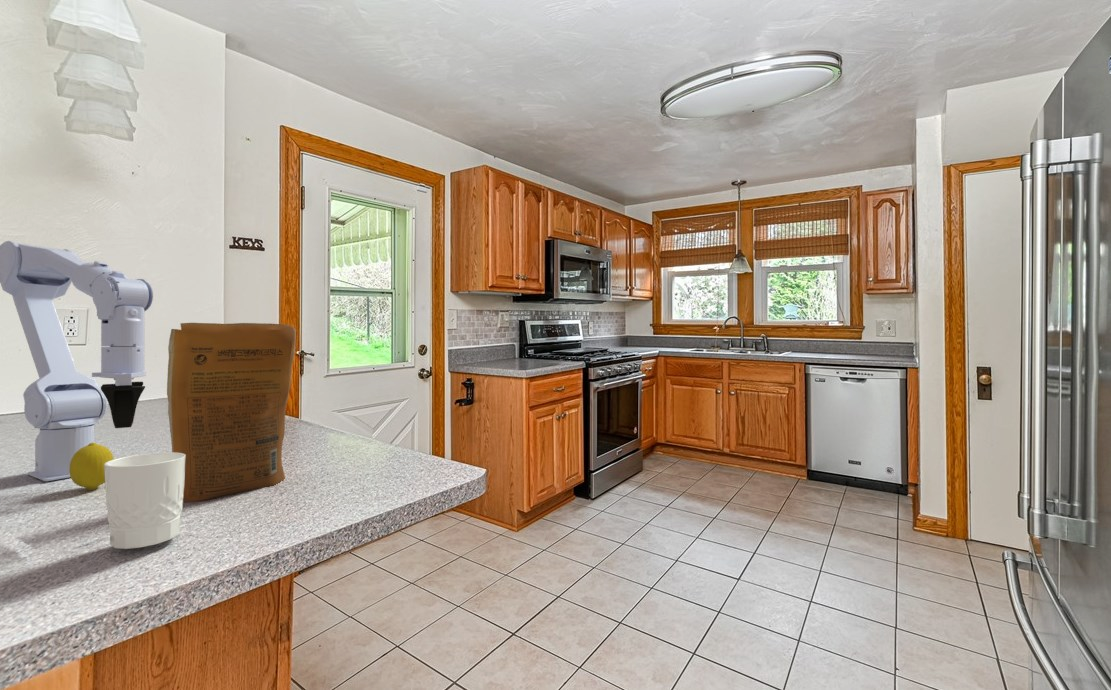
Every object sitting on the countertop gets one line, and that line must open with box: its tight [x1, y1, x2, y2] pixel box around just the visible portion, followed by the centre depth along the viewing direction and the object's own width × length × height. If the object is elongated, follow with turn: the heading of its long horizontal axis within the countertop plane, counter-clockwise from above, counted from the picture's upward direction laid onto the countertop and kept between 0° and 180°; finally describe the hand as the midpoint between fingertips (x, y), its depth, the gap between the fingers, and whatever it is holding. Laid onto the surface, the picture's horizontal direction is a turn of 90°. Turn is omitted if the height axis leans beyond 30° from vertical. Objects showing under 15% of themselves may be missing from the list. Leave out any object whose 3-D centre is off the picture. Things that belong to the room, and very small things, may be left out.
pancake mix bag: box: [166, 322, 297, 503], centre depth 82 cm, size 7×19×28 cm, turn 140°
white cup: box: [104, 451, 186, 550], centre depth 63 cm, size 8×8×10 cm
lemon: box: [69, 442, 115, 491], centre depth 83 cm, size 6×6×8 cm
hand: (123, 424), depth 87 cm, fingers open, 7 cm apart
